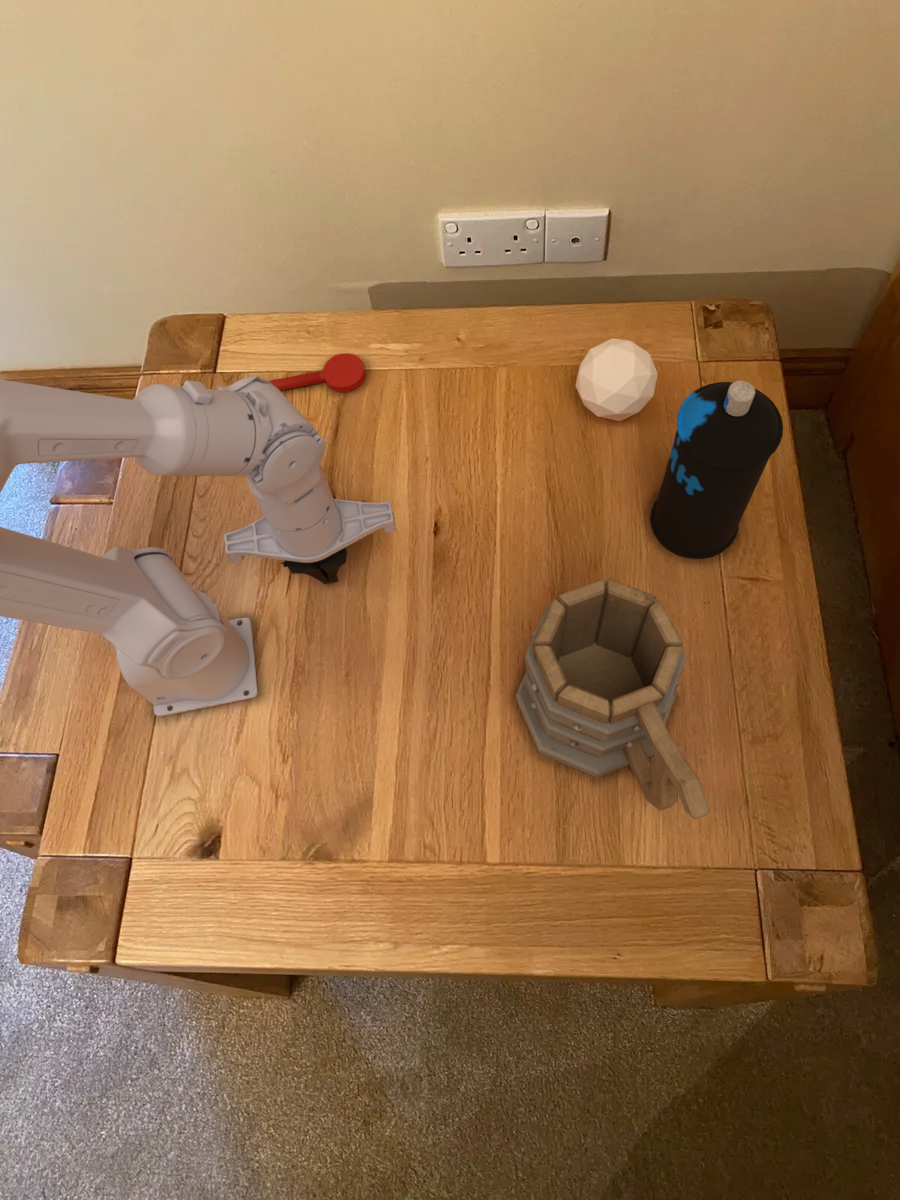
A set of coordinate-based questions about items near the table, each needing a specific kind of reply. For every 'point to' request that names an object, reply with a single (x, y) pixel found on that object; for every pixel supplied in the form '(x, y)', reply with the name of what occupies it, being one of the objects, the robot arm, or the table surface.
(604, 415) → the geometric ball
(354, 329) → the table surface
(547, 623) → the tankard
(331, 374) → the spoon
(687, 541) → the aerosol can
